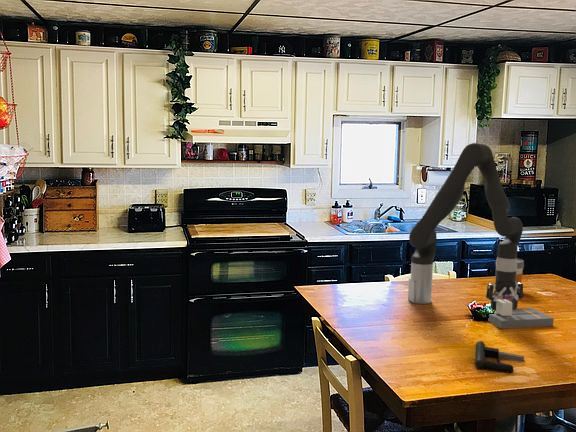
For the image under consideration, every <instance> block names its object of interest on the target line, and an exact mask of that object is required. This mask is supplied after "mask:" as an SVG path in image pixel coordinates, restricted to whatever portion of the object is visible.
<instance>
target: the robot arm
mask: <svg viewBox="0 0 576 432" xmlns="http://www.w3.org/2000/svg"><path fill="white" fill-rule="evenodd" d="M476 167H477V168H478V170H479V171H480V173H481V175H482V178H483V181H484V182H483V183H484V193H485V197H486V201H487V203H488V205H489V208H490V210H491V213H492V222H493V226H494V229H495V231H496V232H497V234H498V235H499V236H501V237H504V238H503V240H502V241H500V242H499V243H498V246H497V257H496V259H497V262H496V261H495V264H496V265H495V280H496V283H495V282H494V284H493V283H492V284H491V283H490V282H489V283H487V286H486V296H485V298H486V299H488V300H489V301H490V310H494V311H496V304H497V302H496V300H497V299H498V298H499V297H500V296H501V295H511V297H512V298H513V299H512V309H514V310H516V309H518V305H519V304H518V303H519V302H518V301H519V300H520V299H521V300H522V299H524V284H523V283H522V282H521V283H519V282H518V283H515V281H516V273H517V259H518V247H519V244H520V241H521V238H522V235H523V231H524V230H523V229H524V226H523V221H521V219H520V218H519V217H517V216H511V217H508V212H509V211H510V209H511V204H510V201H509V198H508V197H507V195H506V193H505V191H504V187H503V186H502V183H501V180H500V176H499V174H498V169H497V167H496V162H495V158H494V154H493V152H492V148H491V147H490V146H489V145H487V144H484V143H479V142H470V143H468V144H467V145H465V147H464V148H463V149H462V151H461V153H460V155H459V157H458V159H457V161H456V163H455V165H454V167H453V169H452V170H451V172H450V173H449V175H448V176H447V177H446V180H445V181H444V183H443V184H442V185H441V187H440V188H439V190H438V191H437V193H436V195H435V196H434V198H433V200H432V201H431V203H430V205H429V206H428V207H427V209H426V210H425V213H424V214H423V216H422V217H420V219H419V221H418V222H417V223H416V224H415V225H414V227H413V228H412V229H411V231H410V233H409V237H408V239H409V243H410V245H411V246H412V247H414V248H415V251H414V253H412V256H411V258H410V260H411V261H410V262H411V264H410V265H411V266H410V278H408V287H407V288H408V289H407V290H408V291H407V292H408V293H407V300H408V301H410V302H411V303H413V304H422V305H425V304H426V305H427V304H431V302H432V299H433V298H432V297H433V296H432V293H433V270H434V259H435V256H436V250H437V239H438V238H437V232H436V228H437V226H439V224H440V223H441V222H442V221H443V220H444V219H445V218H447V217H448V216H449V215H450V214H451V213H452V212H453V211H454V209H455V208H456V207H457V205H458V204H459V203H460V200H461V199H462V198H463V195H464V192H465V186H466V181H467V180H468V178H469V176H470V174H471V173H472V171H473V170H474V169H475V168H476ZM515 287H516V288H517V293H515V291H514V289H515ZM495 288H496V290H495ZM497 293H498V294H497Z"/></svg>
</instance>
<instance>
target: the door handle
mask: <svg viewBox="0 0 576 432" xmlns="http://www.w3.org/2000/svg"><path fill="white" fill-rule="evenodd" d="M474 356H475V357H474V361H475V362H474V366H475V368H476V369H480V370H481V369H485V370H490V371H495V372H502V373H508V374H512V373H513V372H514V366H513V365H512V364H509V363H508V364H507V363H503V362H500V359H503V360H509V361H515V362H525V361H524V360H525V356H524V355H521V354H516V353H508V352H504V351H500V350H499V348H497V347H489V346H486V344H485V342H484V341H483V340H479V341H477V342H476V344H475V355H474ZM486 358H489V359H495V360H496V361H493V360H486ZM471 363H472V364H473V362H471Z"/></svg>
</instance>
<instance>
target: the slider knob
mask: <svg viewBox="0 0 576 432" xmlns="http://www.w3.org/2000/svg"><path fill="white" fill-rule="evenodd" d="M496 302H497V304H496V311H495V312H496V313H498V314H500V315H502V316H508V315H512V302H510V301H508V300H506V299H499V300H496Z"/></svg>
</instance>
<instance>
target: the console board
mask: <svg viewBox="0 0 576 432" xmlns="http://www.w3.org/2000/svg"><path fill="white" fill-rule="evenodd" d="M554 320H555V319H554V317H551V316H550V315H548V314H546V313H544V312H542V311H539V310H537V309H535V308H533V307H522V308H520V307H519V308H516V310H514V309H512V315H508V316H502V315H500V314H498V313H494V314H489V318H488V321H487V322H489V323H490V324H492V325H494V326H495V327H497V328H499V329H501V330H502V329H517V328H520V329H521V328H522V329H523V328H536V327H537V328H538V327H541V328H542V327H553V326H554Z"/></svg>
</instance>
